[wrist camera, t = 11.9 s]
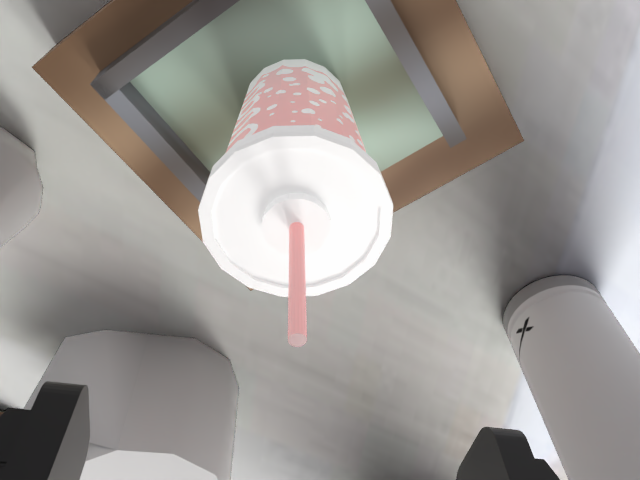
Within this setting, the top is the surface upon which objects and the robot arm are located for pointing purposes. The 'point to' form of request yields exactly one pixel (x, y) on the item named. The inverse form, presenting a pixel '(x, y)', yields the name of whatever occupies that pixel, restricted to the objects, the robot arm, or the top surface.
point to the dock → (269, 48)
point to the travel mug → (579, 375)
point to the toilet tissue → (151, 405)
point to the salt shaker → (17, 186)
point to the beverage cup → (295, 192)
